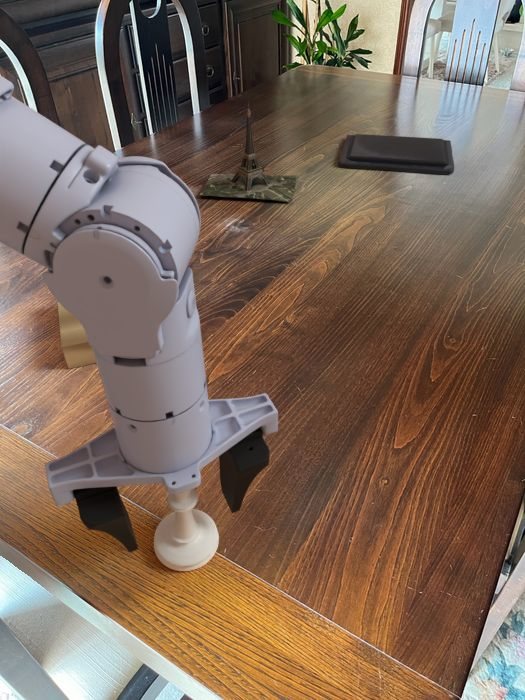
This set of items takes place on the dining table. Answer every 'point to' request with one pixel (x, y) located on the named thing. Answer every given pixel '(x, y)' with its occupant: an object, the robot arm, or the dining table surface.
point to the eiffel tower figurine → (250, 178)
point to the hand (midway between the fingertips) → (182, 519)
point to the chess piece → (185, 534)
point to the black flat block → (397, 154)
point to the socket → (74, 340)
